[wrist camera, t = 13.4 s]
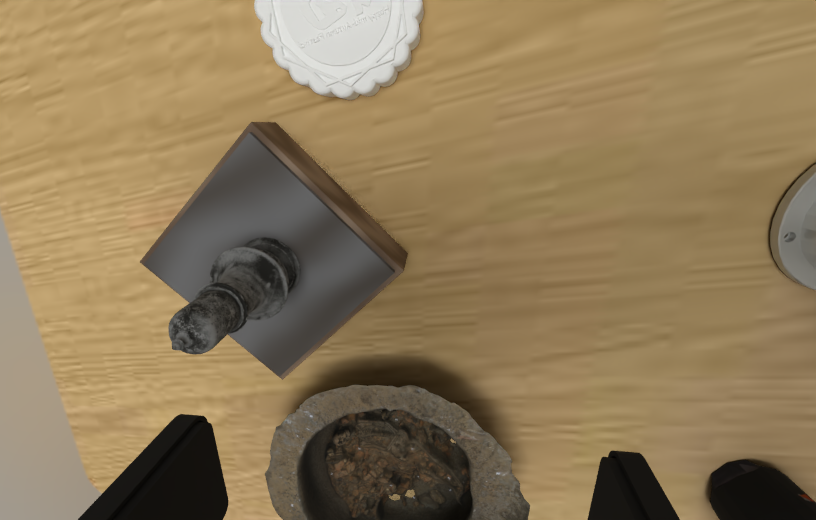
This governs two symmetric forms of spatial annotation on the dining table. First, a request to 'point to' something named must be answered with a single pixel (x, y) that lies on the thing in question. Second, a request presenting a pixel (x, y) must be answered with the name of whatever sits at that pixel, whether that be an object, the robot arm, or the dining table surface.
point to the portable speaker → (758, 494)
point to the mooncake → (341, 41)
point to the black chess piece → (236, 294)
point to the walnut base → (289, 223)
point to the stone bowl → (389, 460)
